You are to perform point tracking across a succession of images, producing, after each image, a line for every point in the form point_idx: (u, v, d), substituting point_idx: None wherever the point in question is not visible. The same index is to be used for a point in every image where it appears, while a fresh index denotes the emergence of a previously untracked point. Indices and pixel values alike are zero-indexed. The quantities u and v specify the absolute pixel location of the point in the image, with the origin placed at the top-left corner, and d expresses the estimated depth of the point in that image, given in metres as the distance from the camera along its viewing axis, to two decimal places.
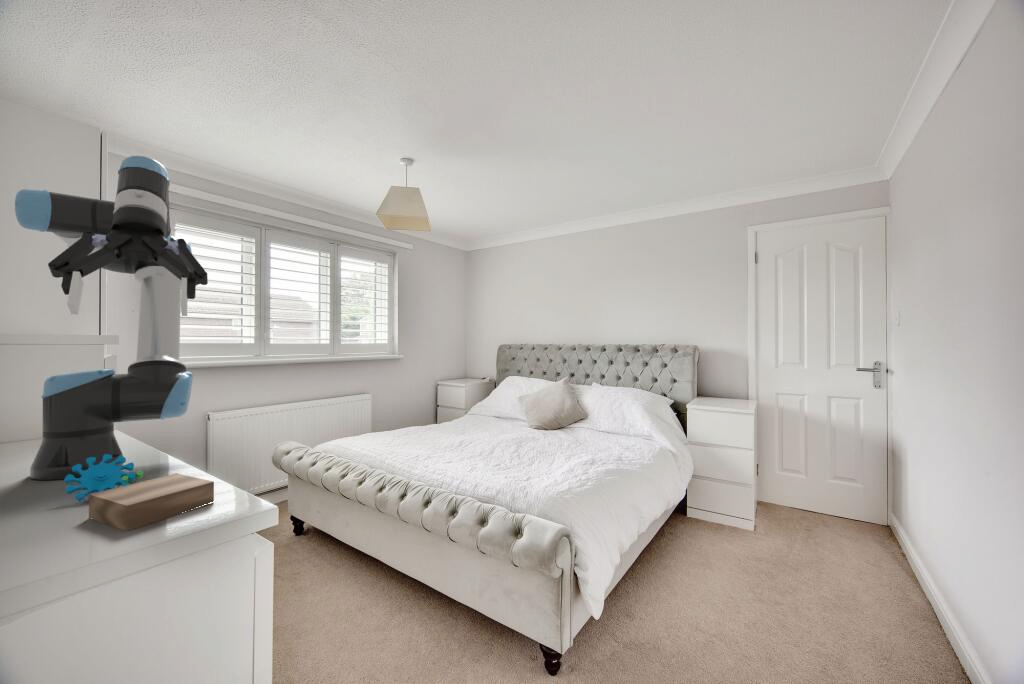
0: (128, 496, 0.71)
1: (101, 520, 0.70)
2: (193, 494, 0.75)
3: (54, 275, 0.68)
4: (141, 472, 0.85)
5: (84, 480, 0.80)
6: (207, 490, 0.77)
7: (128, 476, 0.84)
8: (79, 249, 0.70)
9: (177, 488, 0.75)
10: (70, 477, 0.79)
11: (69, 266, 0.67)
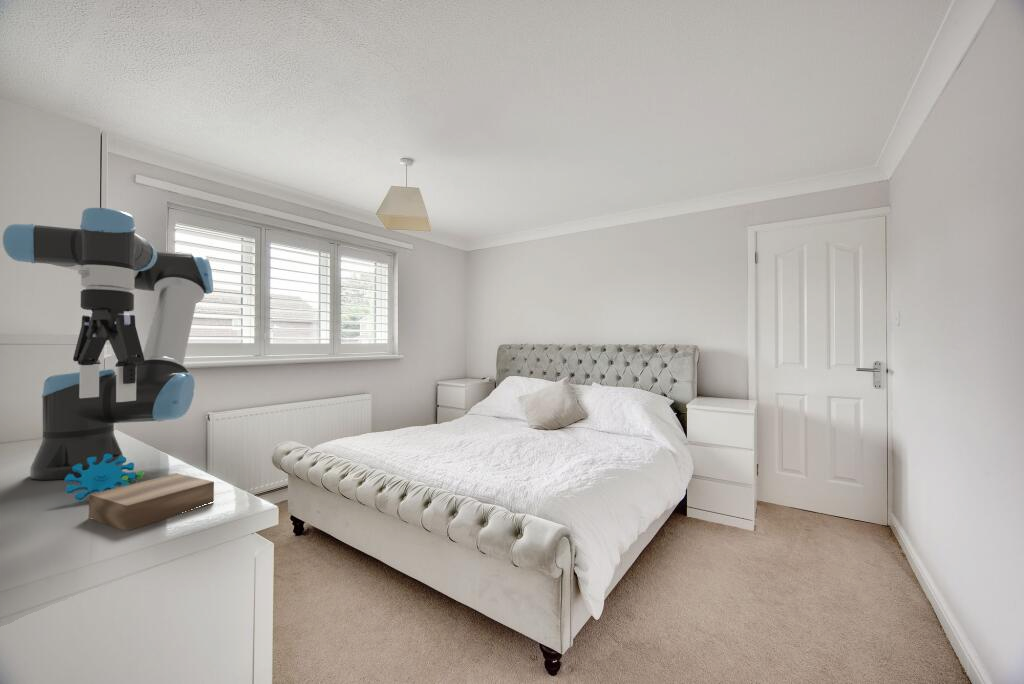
0: (128, 496, 0.71)
1: (101, 520, 0.70)
2: (193, 494, 0.75)
3: None
4: (141, 472, 0.85)
5: (85, 480, 0.80)
6: (207, 490, 0.77)
7: (128, 476, 0.84)
8: (81, 339, 0.84)
9: (177, 488, 0.75)
10: (70, 477, 0.79)
11: (79, 359, 0.84)
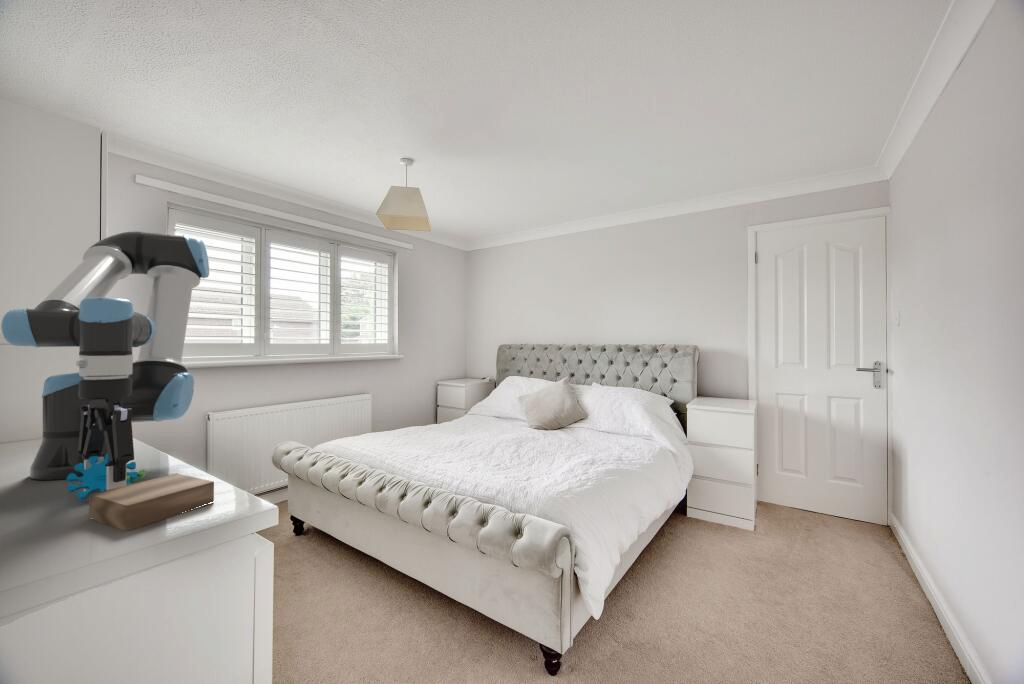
0: (128, 496, 0.71)
1: (101, 520, 0.70)
2: (193, 494, 0.75)
3: None
4: (143, 471, 0.85)
5: (86, 479, 0.80)
6: (207, 490, 0.77)
7: (130, 475, 0.84)
8: (83, 430, 0.84)
9: (177, 488, 0.75)
10: (72, 476, 0.79)
11: (83, 454, 0.83)
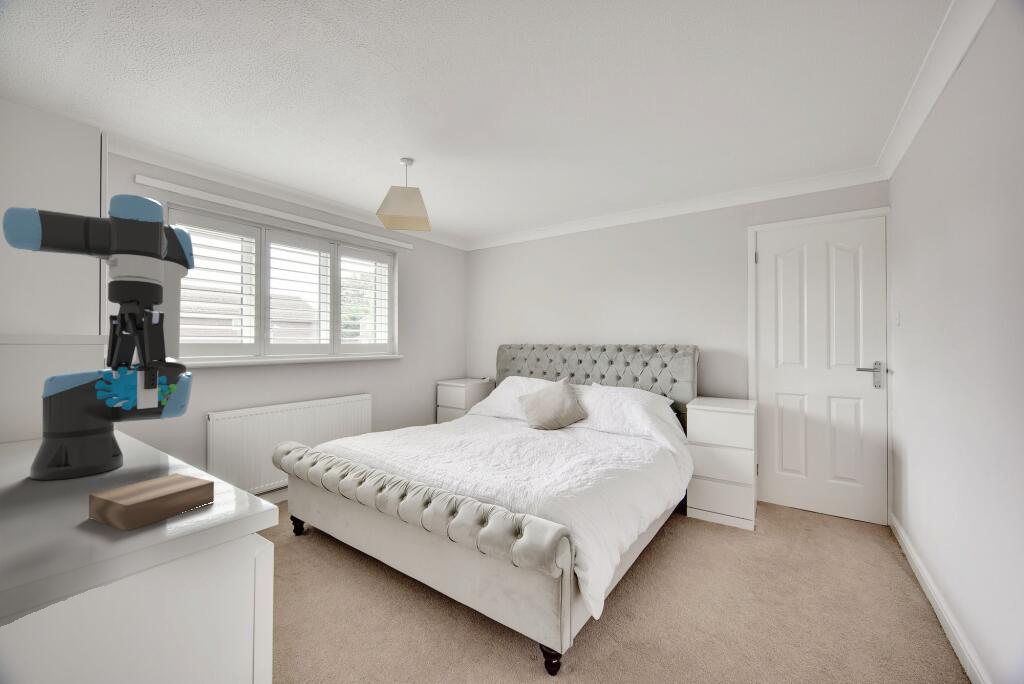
0: (128, 496, 0.71)
1: (101, 520, 0.70)
2: (193, 494, 0.75)
3: None
4: (174, 386, 0.80)
5: (116, 388, 0.75)
6: (207, 490, 0.77)
7: (160, 388, 0.79)
8: (112, 340, 0.79)
9: (177, 488, 0.75)
10: (101, 383, 0.74)
11: (112, 365, 0.78)
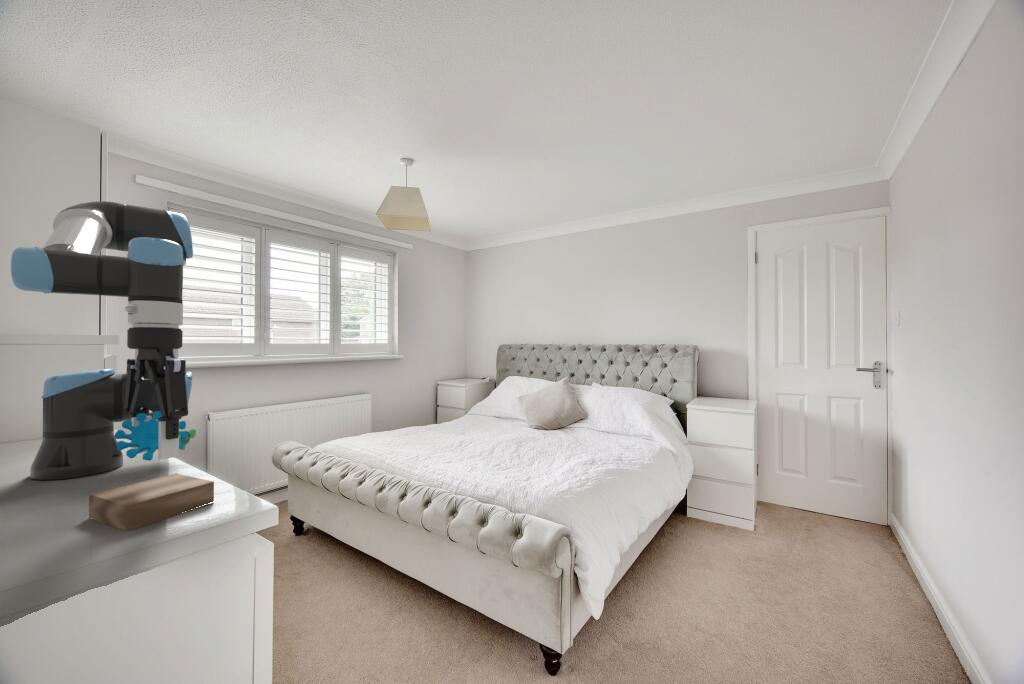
0: (128, 496, 0.71)
1: (101, 520, 0.70)
2: (193, 494, 0.75)
3: None
4: (194, 431, 0.78)
5: (136, 437, 0.73)
6: (207, 490, 0.77)
7: (181, 435, 0.77)
8: (130, 385, 0.77)
9: (177, 488, 0.75)
10: (121, 433, 0.72)
11: (130, 411, 0.76)
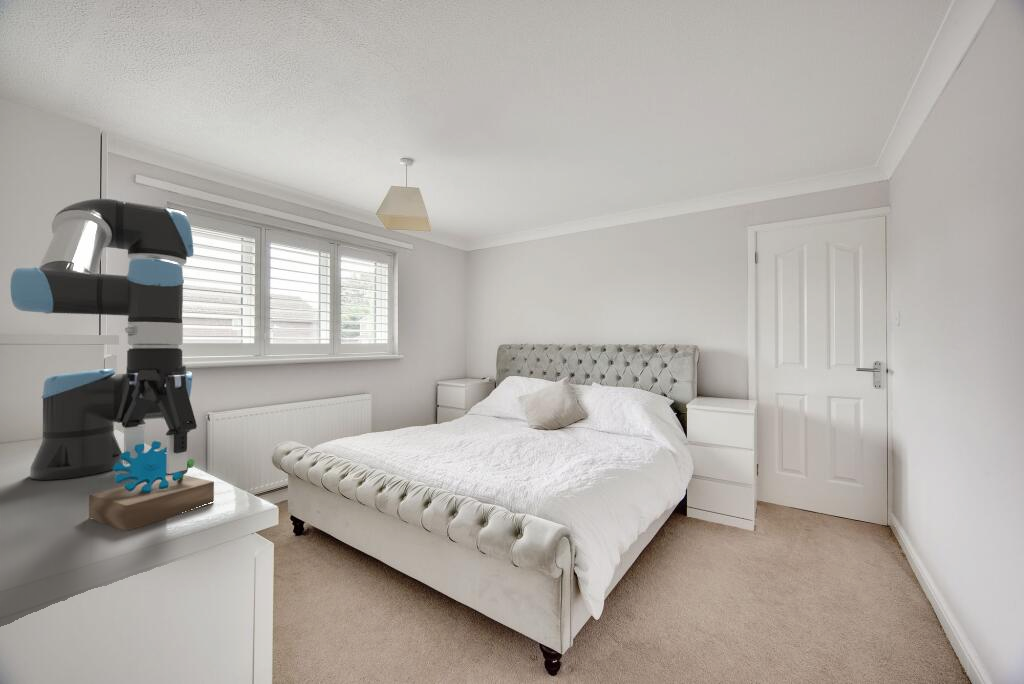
0: (128, 496, 0.71)
1: (101, 520, 0.70)
2: (193, 494, 0.75)
3: None
4: (192, 461, 0.79)
5: (134, 469, 0.73)
6: (207, 490, 0.77)
7: None
8: (126, 399, 0.77)
9: (177, 488, 0.75)
10: (119, 465, 0.72)
11: (123, 421, 0.77)
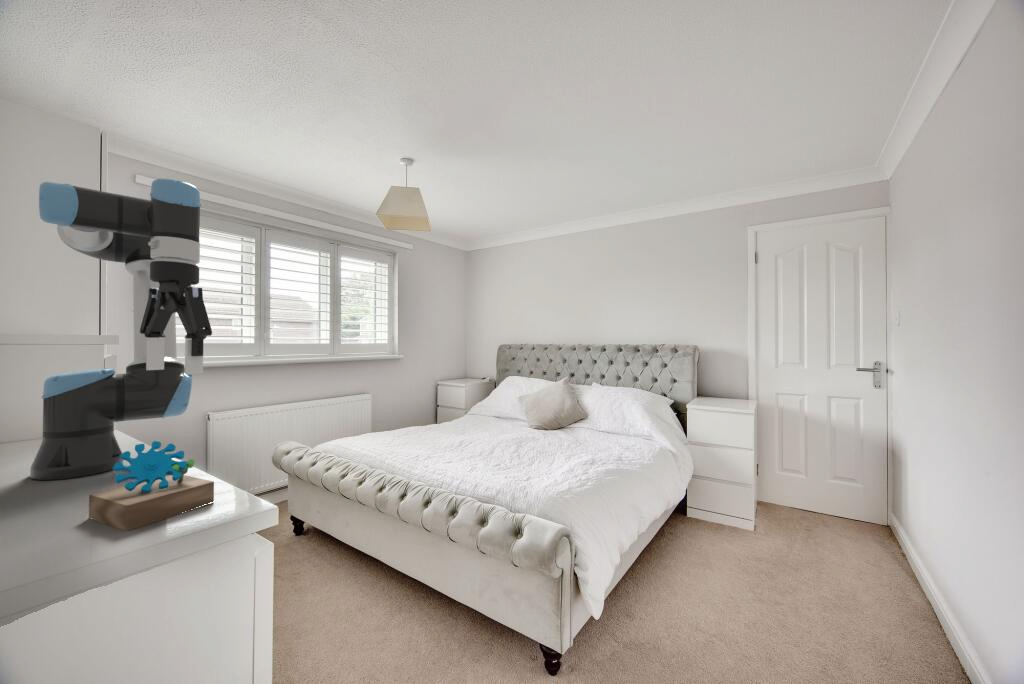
0: (128, 496, 0.71)
1: (101, 520, 0.70)
2: (193, 494, 0.75)
3: None
4: (192, 461, 0.79)
5: (134, 469, 0.73)
6: (207, 490, 0.77)
7: (179, 465, 0.77)
8: (148, 312, 0.84)
9: (177, 488, 0.75)
10: (119, 465, 0.72)
11: (145, 332, 0.85)
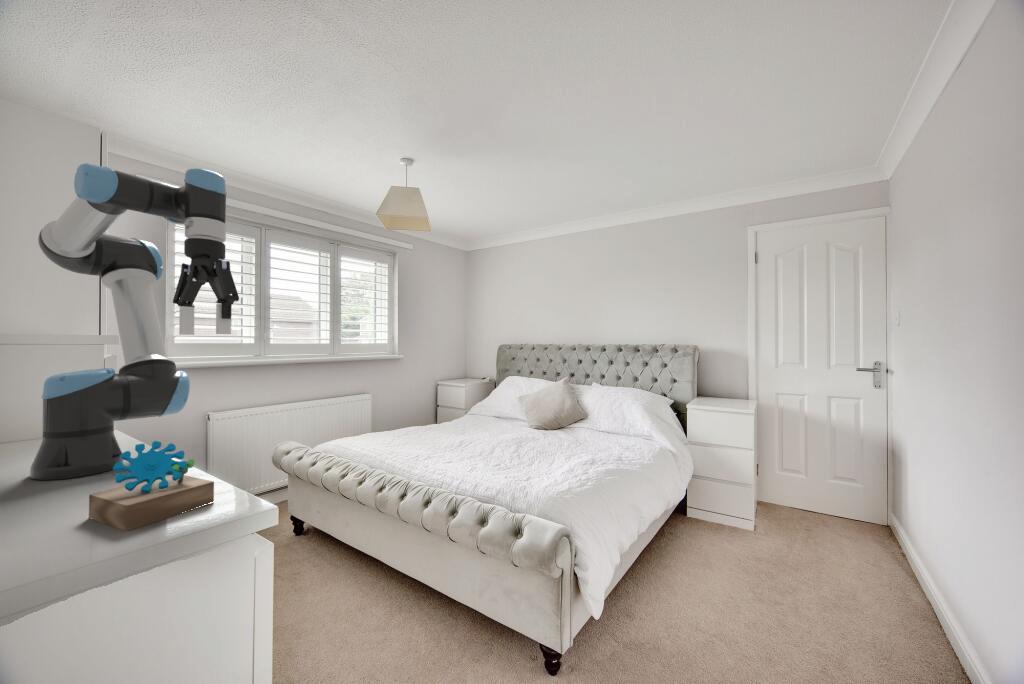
0: (128, 496, 0.71)
1: (101, 520, 0.70)
2: (193, 494, 0.75)
3: None
4: (192, 461, 0.79)
5: (134, 469, 0.73)
6: (207, 490, 0.77)
7: (179, 465, 0.77)
8: (181, 284, 0.98)
9: (177, 488, 0.75)
10: (119, 465, 0.73)
11: (178, 301, 0.98)
